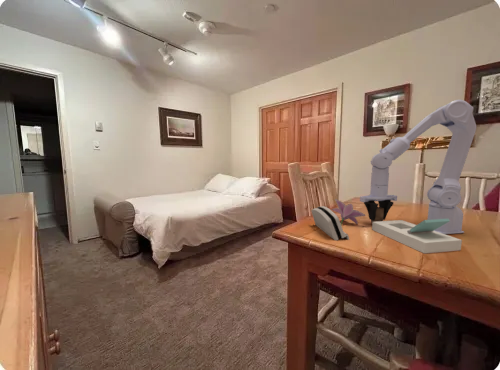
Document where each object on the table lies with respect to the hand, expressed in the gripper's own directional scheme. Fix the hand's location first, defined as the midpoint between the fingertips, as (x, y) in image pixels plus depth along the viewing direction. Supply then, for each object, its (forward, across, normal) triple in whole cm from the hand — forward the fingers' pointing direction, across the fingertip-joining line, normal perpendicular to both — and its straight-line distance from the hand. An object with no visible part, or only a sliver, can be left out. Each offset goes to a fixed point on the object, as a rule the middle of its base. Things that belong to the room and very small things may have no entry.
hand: (377, 219), depth 84 cm
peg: (+2, 0, 0) cm, 2 cm away
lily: (+2, +11, -3) cm, 12 cm away
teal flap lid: (-1, 0, +18) cm, 18 cm away
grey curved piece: (+2, +23, +4) cm, 24 cm away
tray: (+2, 0, +15) cm, 15 cm away
